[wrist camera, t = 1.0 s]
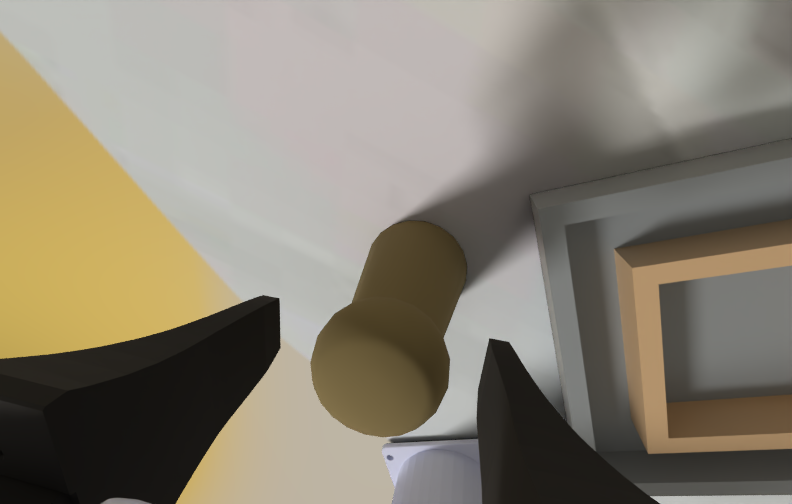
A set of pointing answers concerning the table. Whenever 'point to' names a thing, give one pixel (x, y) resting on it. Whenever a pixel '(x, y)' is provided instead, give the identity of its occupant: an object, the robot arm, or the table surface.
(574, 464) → the robot arm
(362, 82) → the table surface
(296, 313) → the table surface
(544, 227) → the tray
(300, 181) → the table surface
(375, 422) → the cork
